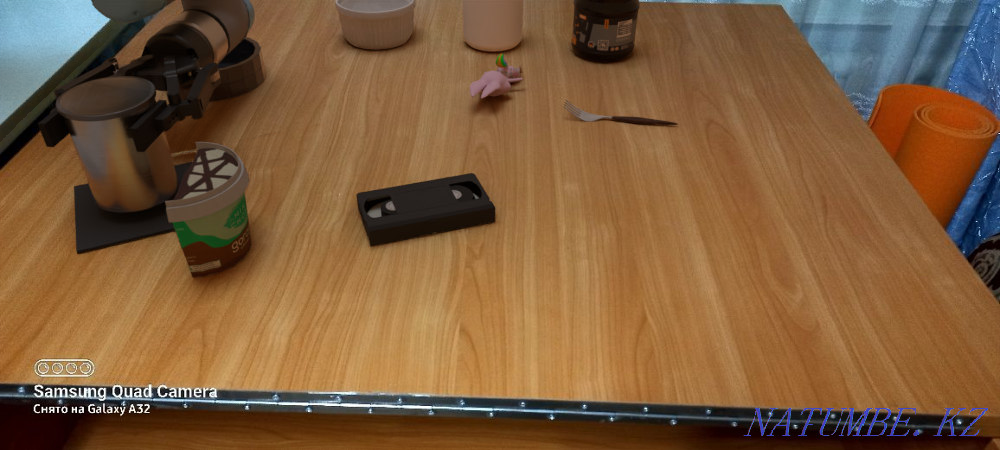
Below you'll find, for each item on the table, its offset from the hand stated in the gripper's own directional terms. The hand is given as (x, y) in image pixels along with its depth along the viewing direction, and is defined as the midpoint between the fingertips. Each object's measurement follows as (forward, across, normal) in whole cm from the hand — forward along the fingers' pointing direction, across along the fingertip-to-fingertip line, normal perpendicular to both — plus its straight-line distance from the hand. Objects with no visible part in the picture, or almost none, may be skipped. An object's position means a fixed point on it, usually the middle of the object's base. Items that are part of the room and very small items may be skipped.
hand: (91, 137), depth 76 cm
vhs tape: (-6, -33, -12) cm, 35 cm away
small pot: (-5, 0, -9) cm, 10 cm away
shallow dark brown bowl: (-37, +4, -11) cm, 39 cm away
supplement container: (-56, -54, -12) cm, 79 cm away
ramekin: (-57, -16, -12) cm, 61 cm away
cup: (-58, -36, -12) cm, 69 cm away
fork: (-31, -56, -12) cm, 65 cm away
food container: (+2, -14, -12) cm, 18 cm away
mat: (-5, 0, -11) cm, 12 cm away
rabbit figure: (-38, -38, -12) cm, 55 cm away
